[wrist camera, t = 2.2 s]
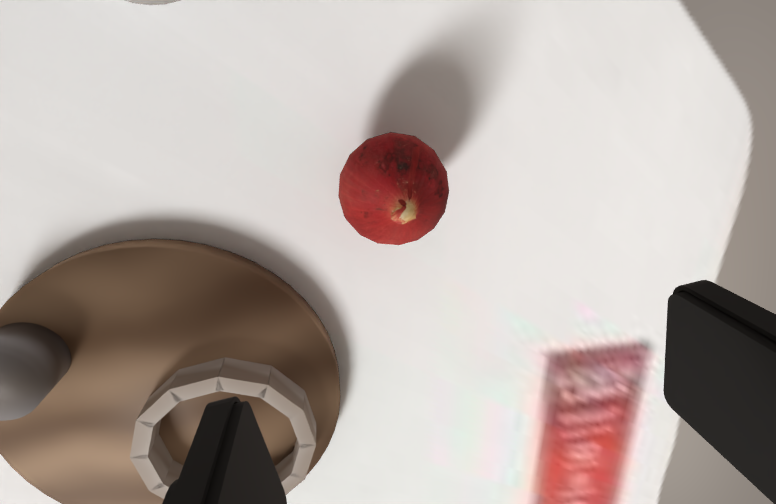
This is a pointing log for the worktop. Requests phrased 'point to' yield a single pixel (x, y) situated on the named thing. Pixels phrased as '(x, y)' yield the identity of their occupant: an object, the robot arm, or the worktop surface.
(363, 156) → the red rounded piece
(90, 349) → the carrier plate
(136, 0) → the glass holder
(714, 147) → the worktop surface
